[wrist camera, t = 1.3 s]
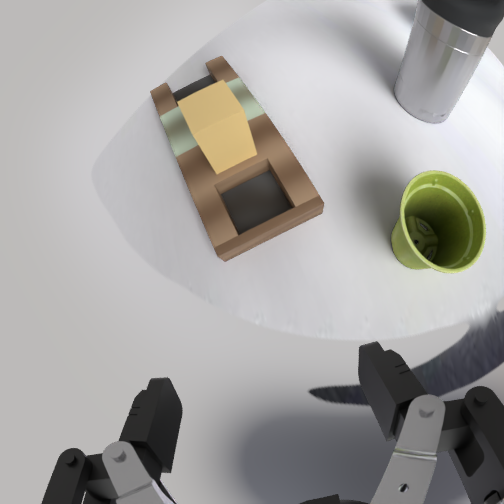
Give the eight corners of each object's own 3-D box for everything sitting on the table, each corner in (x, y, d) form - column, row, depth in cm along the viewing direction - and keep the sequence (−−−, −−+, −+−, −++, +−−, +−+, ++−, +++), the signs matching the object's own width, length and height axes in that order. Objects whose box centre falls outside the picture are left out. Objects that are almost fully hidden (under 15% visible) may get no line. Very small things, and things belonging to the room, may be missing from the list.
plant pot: (360, 251, 30) (381, 229, 21) (399, 188, 30) (424, 152, 22) (424, 300, 27) (463, 294, 19) (458, 234, 28) (496, 211, 20)
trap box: (322, 213, 31) (324, 203, 29) (225, 261, 32) (217, 256, 29) (226, 68, 39) (222, 55, 36) (157, 102, 39) (150, 91, 36)
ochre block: (257, 154, 31) (243, 109, 23) (216, 174, 31) (192, 134, 23) (239, 124, 32) (223, 79, 24) (201, 143, 32) (177, 101, 25)
